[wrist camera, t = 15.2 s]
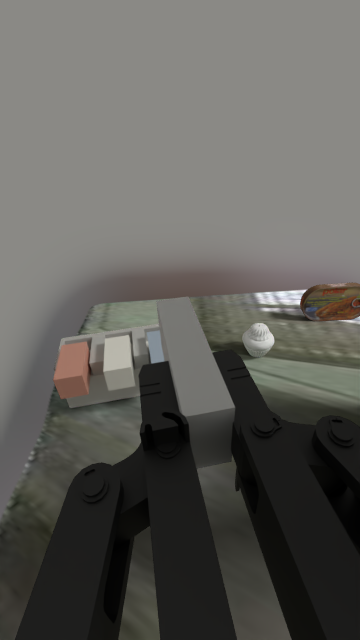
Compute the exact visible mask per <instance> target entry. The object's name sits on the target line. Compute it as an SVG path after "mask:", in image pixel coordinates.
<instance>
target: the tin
mask: <svg viewBox="0 0 360 640" xmlns="http://www.w3.org/2000/svg"><path fill="white" fill-rule="evenodd" d="M300 307H301V310H302V311H303V313H304V315H305V316H306V317H307V318H308V319H310V320H312V321H329V320H348V319H354V318H357V317H359V316H360V284H358V283H340V284H326V285H325V284H324V285H316V286H313V287H311V288H310V289H308V290H307V291H306V292H305V293H304V294H303V296H302V298H301V302H300Z"/></svg>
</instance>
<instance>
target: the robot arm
mask: <svg viewBox="0 0 360 640" xmlns="http://www.w3.org/2000/svg"><path fill="white" fill-rule="evenodd" d="M156 302H157V311H158V319H159V328H160V336H161V345H162V351H163V355H164V360H165V361H164V362H158V363H152V364H146V365H143V366H142V368H141V370H140V373H139V375H138V378H139V389H140V400H141V411H142V424H141V428H140V437H141V444H140V445H139V447H138V449H137V450H136V451H135V452H134V453H133V454H132V455H130V456H129V457H127V458H126V459H124V460H122V461H121V462H119V463H117V464H115V465H113V466H111V465H110V464H105V463H96V464H92V465H90V466H88V467H86V468H84V469H82V470H81V471H80V472H79V473H78V474H77V475H76V476H75V478H74V479H73V481H72V483H71V485H70V487H69V489H68V492H67V495H66V498H65V501H64V503H63V506H62V509H61V512H60V515H59V517H58V520H57V523H56V526H55V529H54V531H53V534H52V537H51V540H50V543H49V545H48V548H47V551H46V554H45V557H44V559H43V562H42V565H41V568H40V571H39V574H38V576H37V579H36V582H35V585H34V588H33V590H32V593H31V596H30V599H29V602H28V604H27V607H26V610H25V613H24V616H23V618H22V621H21V624H20V627H19V630H18V632H17V635H16V638H15V640H118V637H119V631H120V625H121V618H122V612H123V606H124V599H125V593H126V587H127V580H128V574H129V568H130V561H131V555H132V549H133V542H134V536H135V535H137V534H138V533H140V532H141V531H143V530H144V529H146V528H147V527H149V526H150V528H151V539H152V550H153V562H154V573H155V584H156V596H157V607H158V618H159V629H160V640H237V637H236V633H235V629H234V625H233V620H232V616H231V612H230V608H229V604H228V599H227V595H226V591H225V587H224V583H223V578H222V574H221V570H220V566H219V562H218V557H217V553H216V549H215V545H214V541H213V536H212V532H211V528H210V524H209V520H208V515H207V511H206V507H205V503H204V499H203V494H202V490H201V486H200V482H199V478H198V473H197V469H198V468H202V467H207V466H212V465H217V464H221V463H226V462H231V459H232V455H233V457H234V460H235V463H236V466H237V468H236V479H235V488H236V491H239V489H241V492H242V495H243V498H244V501H245V504H246V507H247V510H248V512H249V515H250V518H251V521H252V524H253V527H254V530H255V533H256V536H257V539H258V542H259V545H260V548H261V551H262V554H263V557H264V560H265V562H266V565H267V568H268V571H269V574H270V577H271V580H272V583H273V586H274V589H275V592H276V595H277V598H278V601H279V604H280V607H281V609H282V612H283V615H284V618H285V621H286V624H287V627H288V630H289V633H290V636H291V639H292V640H360V427H359V426H357V425H356V424H354V423H353V422H351V421H350V420H348V419H345V418H343V417H340V416H331V415H330V416H326V417H322V418H321V419H320V420H319V421H318V422H317V424H316V426H315V425H305V424H296V423H291V422H287V421H285V420H282V419H281V418H280V417H279V416H278V415H276V414H275V413H273V412H272V411H270V409H269V408H268V407H267V405H266V403H265V401H264V399H263V397H262V395H261V394H260V392H259V390H258V388H257V386H256V384H255V383H254V381H253V379H252V377H251V376H250V373H249V371H248V370H247V369H246V366H245V364H244V362H243V360H242V358H241V357H240V356H239V355H237V354H236V353H235V352H234V351H232V350H225V351H219V352H213V353H212V351H211V349H210V347H209V344H208V342H207V340H206V337H205V335H204V333H203V330H202V328H201V326H200V323H199V321H198V318H197V316H196V314H195V311H194V309H193V307H192V304H191V302H190V300H189V297H182V298H174V299H167V300H160V301H156Z"/></svg>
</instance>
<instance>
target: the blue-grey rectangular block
mask: <svg viewBox="0 0 360 640" xmlns="http://www.w3.org/2000/svg"><path fill="white" fill-rule="evenodd" d="M147 337H148V344H149V351H150V357H151V364H152V363H158V362H164V361H165V360H164V355H163V351H162V345H161V336H160V330H158V331H152V332H147Z"/></svg>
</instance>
